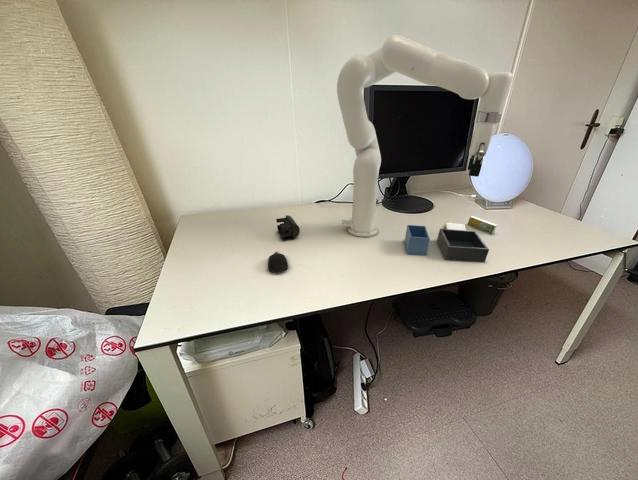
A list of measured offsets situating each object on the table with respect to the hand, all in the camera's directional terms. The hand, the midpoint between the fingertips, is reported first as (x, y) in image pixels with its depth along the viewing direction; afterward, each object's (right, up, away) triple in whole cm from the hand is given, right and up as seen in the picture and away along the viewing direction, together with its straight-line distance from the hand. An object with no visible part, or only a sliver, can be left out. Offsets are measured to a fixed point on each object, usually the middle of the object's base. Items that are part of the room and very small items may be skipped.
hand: (472, 172), depth 99 cm
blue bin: (-19, -26, +8) cm, 33 cm away
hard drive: (+3, -18, +22) cm, 29 cm away
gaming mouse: (-69, -33, -4) cm, 77 cm away
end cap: (-69, -21, +14) cm, 74 cm away
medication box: (+15, -16, +25) cm, 34 cm away
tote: (-2, -27, +7) cm, 29 cm away
